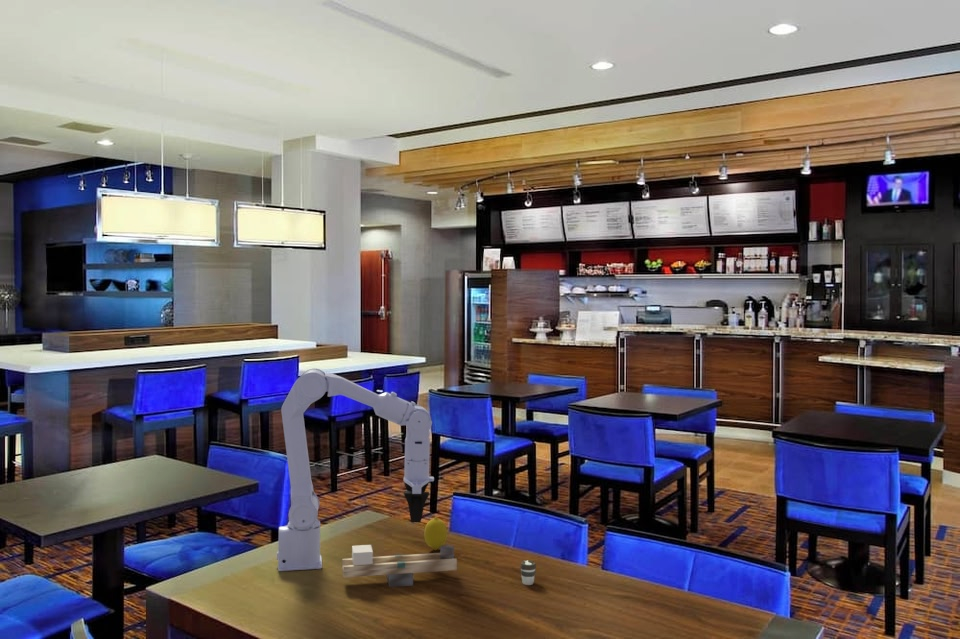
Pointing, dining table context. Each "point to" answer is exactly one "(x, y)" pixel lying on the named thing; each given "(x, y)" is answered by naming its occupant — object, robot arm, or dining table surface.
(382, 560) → the beam
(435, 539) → the lemon
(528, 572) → the coffee cup
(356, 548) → the rider
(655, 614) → the dining table surface
